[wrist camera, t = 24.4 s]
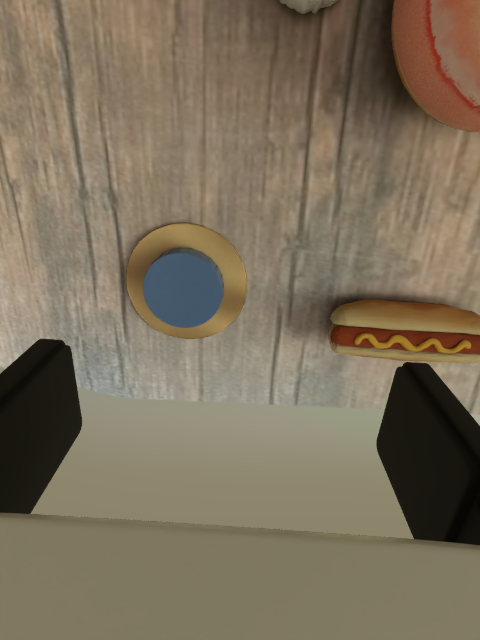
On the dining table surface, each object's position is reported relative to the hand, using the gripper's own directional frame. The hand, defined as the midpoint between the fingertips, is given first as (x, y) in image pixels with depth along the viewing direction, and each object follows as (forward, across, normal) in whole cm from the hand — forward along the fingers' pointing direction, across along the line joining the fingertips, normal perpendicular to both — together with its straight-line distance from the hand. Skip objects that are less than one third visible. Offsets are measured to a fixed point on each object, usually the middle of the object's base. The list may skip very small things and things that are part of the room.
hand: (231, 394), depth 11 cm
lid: (+21, +5, +5) cm, 22 cm away
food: (+24, -15, +8) cm, 29 cm away
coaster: (+23, +5, +5) cm, 24 cm away
